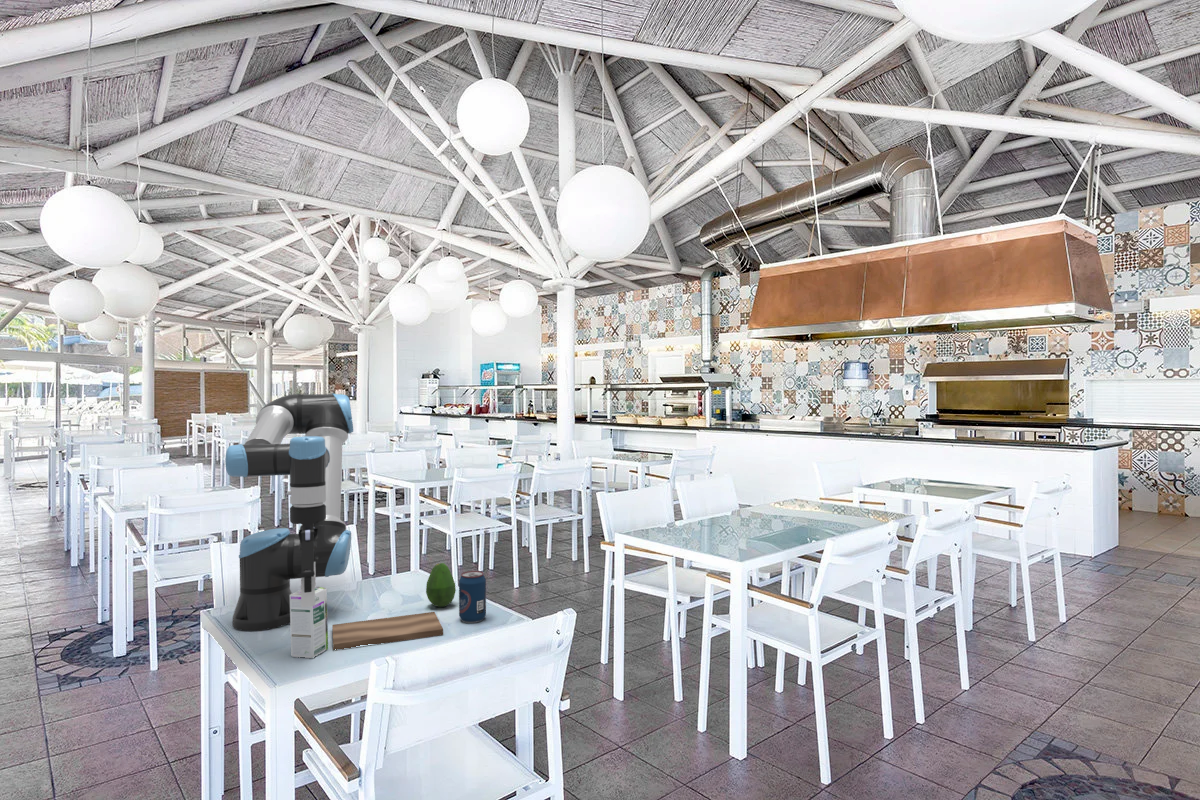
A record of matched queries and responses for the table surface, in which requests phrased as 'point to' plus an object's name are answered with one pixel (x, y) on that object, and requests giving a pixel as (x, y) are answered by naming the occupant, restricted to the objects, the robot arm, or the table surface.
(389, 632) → the walnut board
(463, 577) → the soda can
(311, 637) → the syrup box
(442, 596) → the avocado
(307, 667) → the table surface
